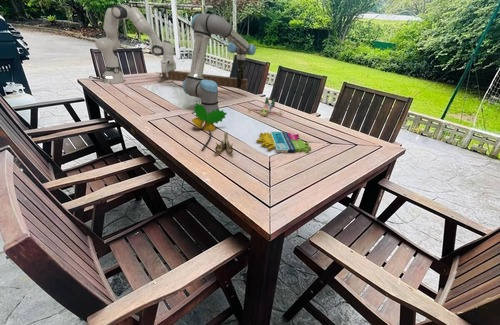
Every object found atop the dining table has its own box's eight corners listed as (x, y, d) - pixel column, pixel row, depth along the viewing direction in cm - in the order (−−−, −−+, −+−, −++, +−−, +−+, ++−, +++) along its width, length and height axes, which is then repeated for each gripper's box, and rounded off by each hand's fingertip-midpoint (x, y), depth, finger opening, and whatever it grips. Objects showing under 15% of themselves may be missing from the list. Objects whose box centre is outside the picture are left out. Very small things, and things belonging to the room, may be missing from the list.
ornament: (218, 133, 171) (224, 110, 169) (221, 134, 163) (227, 111, 161) (186, 125, 162) (192, 101, 160) (189, 126, 155) (195, 101, 153)
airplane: (150, 75, 286) (149, 65, 281) (179, 74, 299) (178, 64, 294) (157, 84, 258) (155, 73, 253) (188, 82, 271) (187, 72, 266)
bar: (247, 87, 234) (247, 79, 230) (245, 89, 229) (246, 80, 225) (165, 77, 249) (164, 69, 246) (162, 78, 245) (161, 70, 241)
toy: (287, 99, 210) (283, 109, 184) (286, 108, 213) (282, 119, 187) (254, 95, 215) (245, 104, 189) (253, 104, 218) (244, 114, 192)
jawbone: (234, 135, 144) (233, 125, 135) (233, 160, 138) (232, 151, 129) (217, 135, 144) (216, 125, 135) (216, 160, 138) (214, 150, 129)
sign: (313, 150, 142) (258, 149, 139) (312, 153, 143) (258, 152, 140) (301, 132, 164) (254, 130, 161) (301, 134, 165) (254, 133, 162)
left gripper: (171, 58, 247) (172, 73, 254) (159, 61, 230) (160, 77, 236) (177, 59, 246) (178, 74, 253) (165, 62, 228) (167, 78, 235)
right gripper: (240, 57, 230) (238, 84, 241) (233, 60, 214) (232, 88, 225) (248, 58, 228) (246, 85, 240) (242, 61, 213) (241, 89, 224)
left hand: (169, 76), depth 244 cm, fingers closed on bar, 5 cm apart
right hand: (239, 87), depth 232 cm, fingers closed on bar, 6 cm apart
